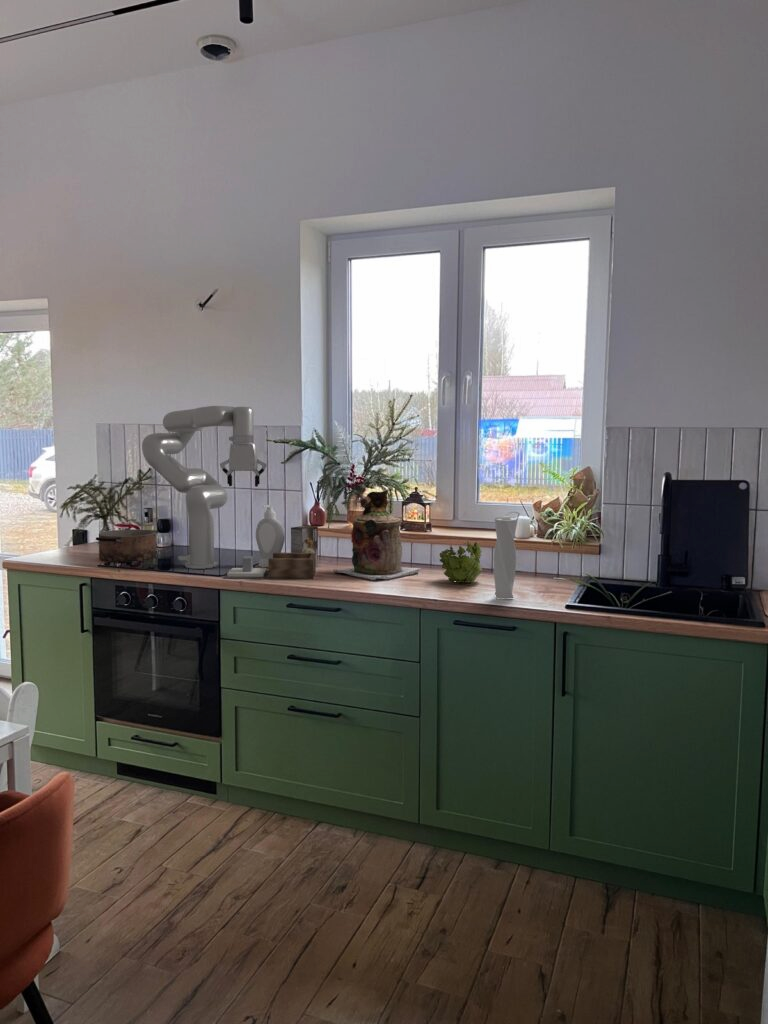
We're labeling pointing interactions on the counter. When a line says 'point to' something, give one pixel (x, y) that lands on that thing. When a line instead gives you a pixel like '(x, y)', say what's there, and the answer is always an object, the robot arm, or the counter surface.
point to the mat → (248, 577)
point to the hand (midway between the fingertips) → (243, 486)
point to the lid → (247, 569)
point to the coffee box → (305, 540)
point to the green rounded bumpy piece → (462, 563)
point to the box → (292, 566)
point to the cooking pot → (127, 545)
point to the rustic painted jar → (376, 541)
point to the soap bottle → (269, 536)
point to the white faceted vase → (505, 556)
